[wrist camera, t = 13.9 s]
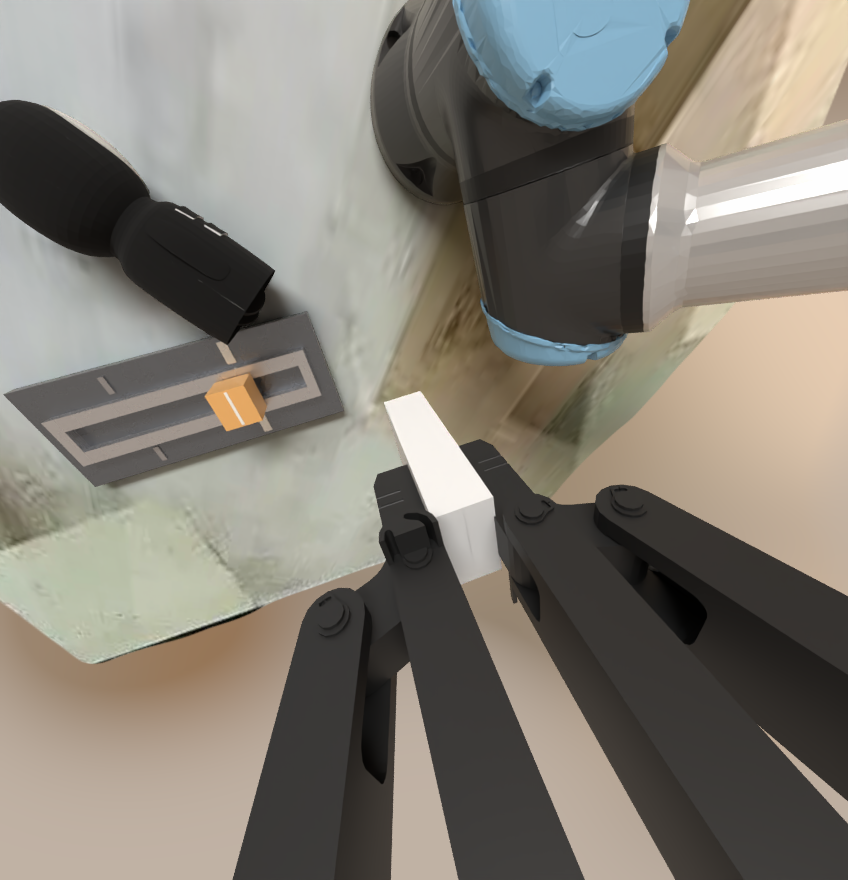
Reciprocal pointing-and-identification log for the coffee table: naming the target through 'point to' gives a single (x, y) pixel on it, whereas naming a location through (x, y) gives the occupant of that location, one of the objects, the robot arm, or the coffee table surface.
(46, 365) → the coffee table surface
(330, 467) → the coffee table surface
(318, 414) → the fader panel
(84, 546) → the coffee table surface
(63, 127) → the black hourglass-shaped sleeve
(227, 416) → the fader knob
